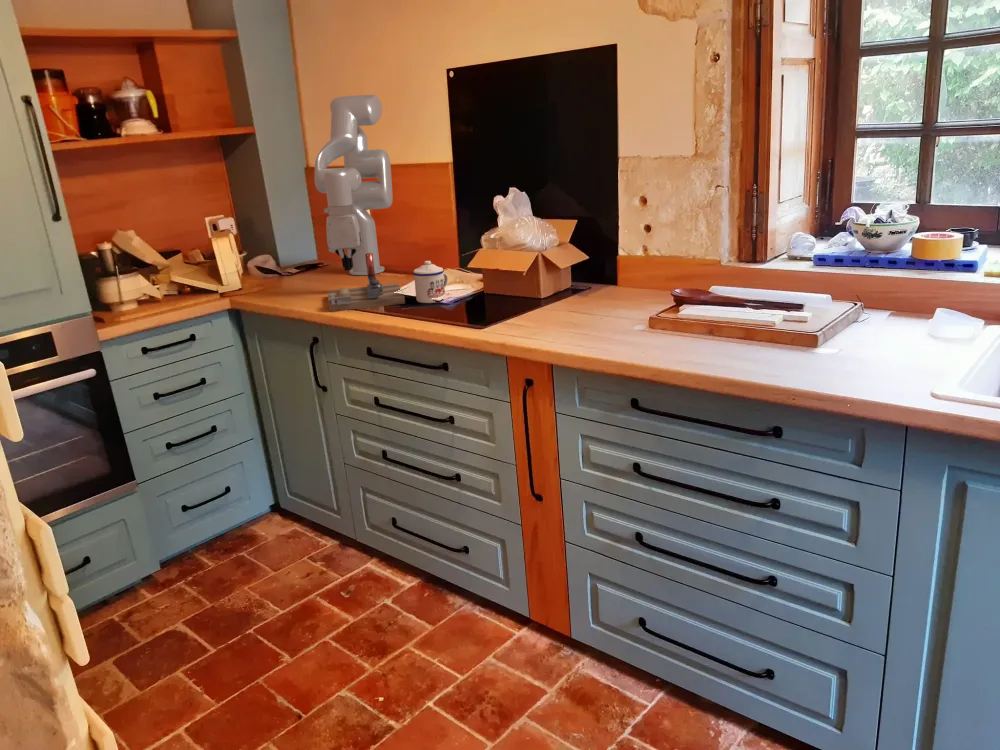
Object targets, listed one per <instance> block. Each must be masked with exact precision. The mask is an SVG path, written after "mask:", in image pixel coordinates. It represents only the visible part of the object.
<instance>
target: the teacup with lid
mask: <svg viewBox="0 0 1000 750" xmlns="http://www.w3.org/2000/svg"><path fill="white" fill-rule="evenodd" d="M423 263H424V264H422V265H420V266H419V267H417V268H415V269H414V270H413V272H412V274H413V279H414V280H413V281H414V289H415V290H414V291H415V299H416V301H417V303H421V304H433V303H436V302H435V301H433V300H431V299H432V298H438V297H441V296H443V295H444V294H445V295H446V292H445V291H446V289H445V288H446V287H447V286H448V283H449V276H448V274H447V273H446V272H444V269H443V267H442V266H441V267H440V266H437V265H436V264H434V263H432V262H431V260H425V261H423Z"/></svg>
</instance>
